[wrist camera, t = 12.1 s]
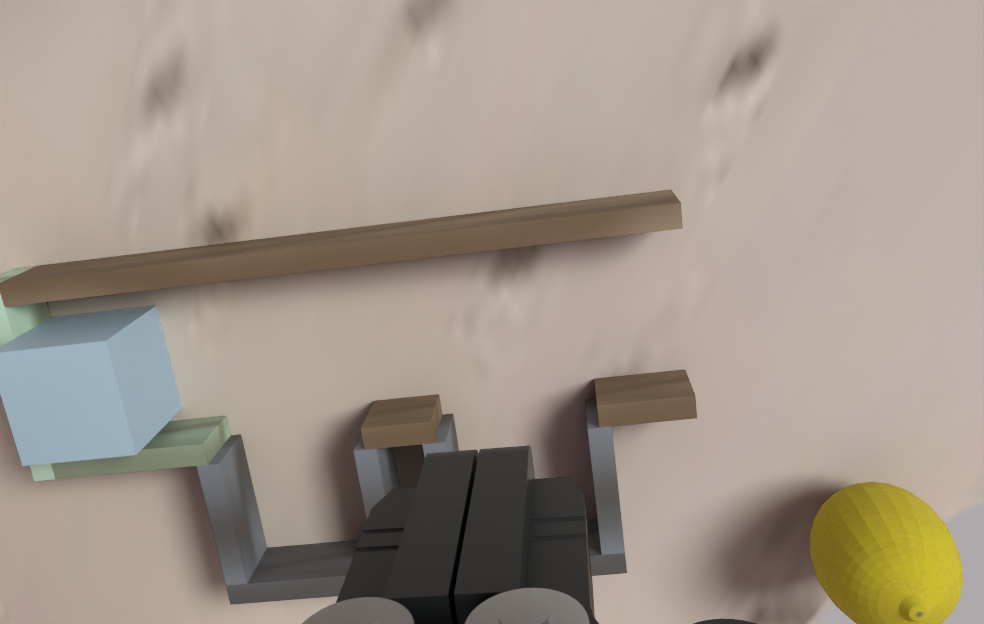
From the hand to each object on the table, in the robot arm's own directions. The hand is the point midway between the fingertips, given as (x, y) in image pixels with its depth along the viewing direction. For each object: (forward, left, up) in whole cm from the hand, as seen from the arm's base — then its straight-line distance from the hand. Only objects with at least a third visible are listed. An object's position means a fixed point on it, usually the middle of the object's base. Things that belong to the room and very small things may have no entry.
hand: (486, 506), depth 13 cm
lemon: (+16, +13, -27) cm, 34 cm away
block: (+5, -20, -27) cm, 34 cm away
